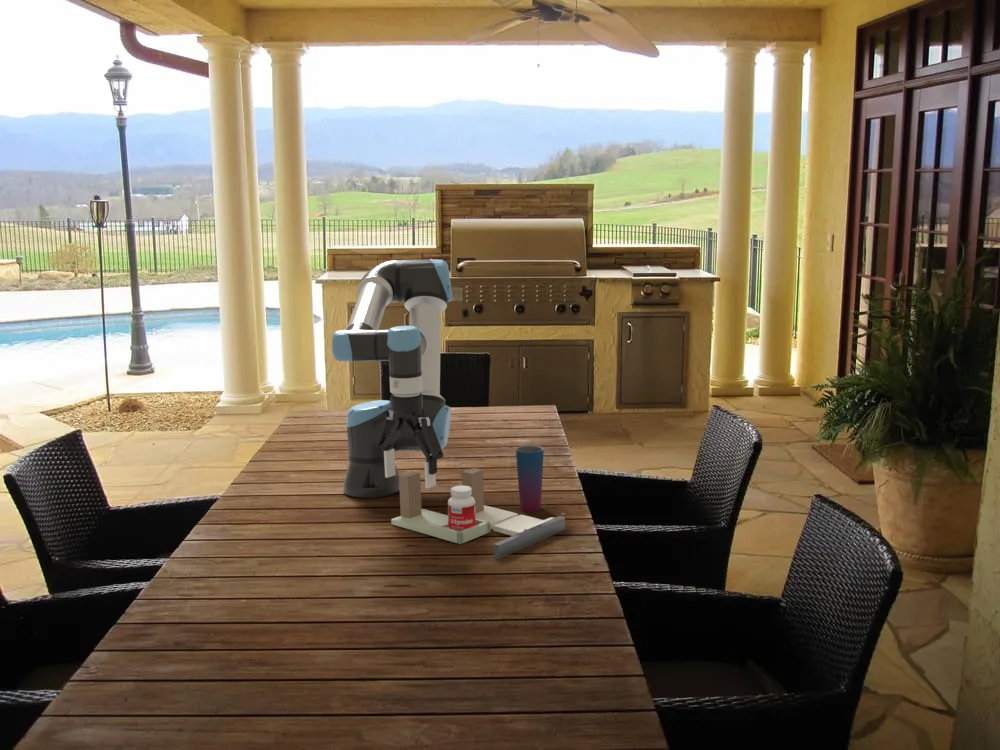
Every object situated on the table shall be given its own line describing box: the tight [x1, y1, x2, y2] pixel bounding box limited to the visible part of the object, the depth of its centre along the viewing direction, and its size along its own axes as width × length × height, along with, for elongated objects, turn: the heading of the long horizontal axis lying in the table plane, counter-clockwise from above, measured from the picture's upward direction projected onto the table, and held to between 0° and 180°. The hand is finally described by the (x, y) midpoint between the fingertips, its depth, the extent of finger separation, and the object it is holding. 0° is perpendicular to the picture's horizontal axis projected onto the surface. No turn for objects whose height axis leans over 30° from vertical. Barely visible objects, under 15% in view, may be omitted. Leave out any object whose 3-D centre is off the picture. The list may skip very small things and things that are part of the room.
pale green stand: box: [390, 470, 491, 545], centre depth 217 cm, size 22×10×11 cm, turn 49°
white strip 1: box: [461, 467, 519, 531], centre depth 222 cm, size 11×10×11 cm
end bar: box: [492, 515, 566, 560], centre depth 207 cm, size 2×23×3 cm, turn 140°
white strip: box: [492, 514, 555, 537], centre depth 215 cm, size 10×10×2 cm
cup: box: [515, 444, 545, 512], centre depth 230 cm, size 7×7×15 cm
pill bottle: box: [447, 485, 476, 531], centre depth 212 cm, size 6×6×11 cm
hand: (410, 481), depth 223 cm, fingers open, 13 cm apart
